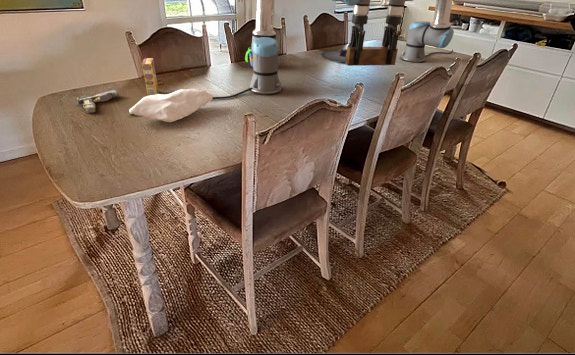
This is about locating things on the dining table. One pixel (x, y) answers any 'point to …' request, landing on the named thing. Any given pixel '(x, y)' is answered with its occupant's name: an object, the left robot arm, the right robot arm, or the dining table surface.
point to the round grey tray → (336, 55)
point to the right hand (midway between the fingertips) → (386, 62)
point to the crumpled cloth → (171, 104)
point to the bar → (370, 56)
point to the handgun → (95, 100)
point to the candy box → (150, 76)
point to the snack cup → (249, 55)
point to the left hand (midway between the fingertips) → (354, 62)
